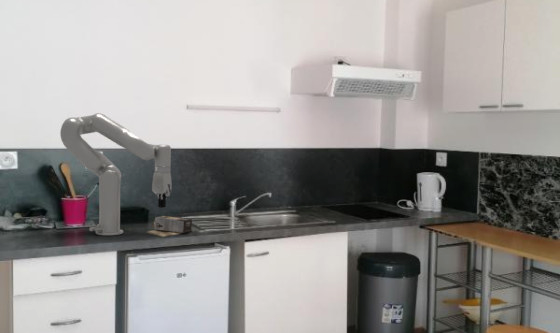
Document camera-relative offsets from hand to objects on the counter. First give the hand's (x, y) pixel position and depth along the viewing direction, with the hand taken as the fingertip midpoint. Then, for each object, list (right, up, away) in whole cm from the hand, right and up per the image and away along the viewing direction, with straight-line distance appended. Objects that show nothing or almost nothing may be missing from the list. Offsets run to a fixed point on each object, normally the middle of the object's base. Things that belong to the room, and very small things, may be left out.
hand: (161, 207), depth 260 cm
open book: (+1, -13, 0) cm, 13 cm away
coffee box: (-3, -8, +6) cm, 11 cm away
